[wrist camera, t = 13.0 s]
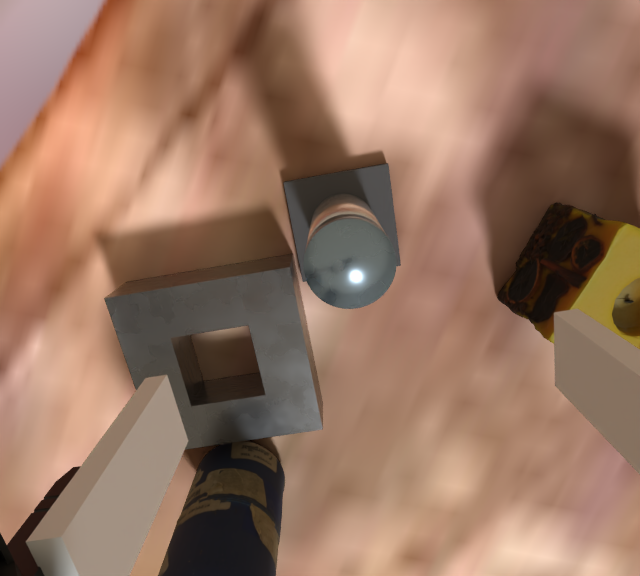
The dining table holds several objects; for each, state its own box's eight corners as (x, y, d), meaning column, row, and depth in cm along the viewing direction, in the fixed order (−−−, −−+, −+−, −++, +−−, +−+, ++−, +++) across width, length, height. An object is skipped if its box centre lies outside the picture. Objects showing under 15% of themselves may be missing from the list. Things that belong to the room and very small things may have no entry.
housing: (172, 424, 47) (158, 453, 43) (126, 282, 42) (104, 298, 38) (322, 402, 46) (322, 429, 42) (293, 253, 41) (289, 267, 37)
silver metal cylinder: (317, 261, 40) (312, 315, 28) (305, 199, 39) (295, 227, 26) (378, 251, 40) (401, 301, 28) (370, 188, 38) (390, 211, 26)
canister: (208, 424, 47) (144, 587, 30) (296, 444, 48) (281, 613, 31) (193, 495, 50) (126, 679, 33) (275, 512, 51) (252, 701, 34)
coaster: (303, 278, 42) (302, 281, 41) (284, 181, 39) (283, 182, 38) (398, 262, 42) (400, 265, 41) (386, 163, 39) (388, 163, 38)
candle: (493, 298, 43) (542, 343, 33) (550, 198, 40) (621, 217, 30) (585, 335, 44) (658, 389, 34) (646, 241, 41) (744, 272, 31)
